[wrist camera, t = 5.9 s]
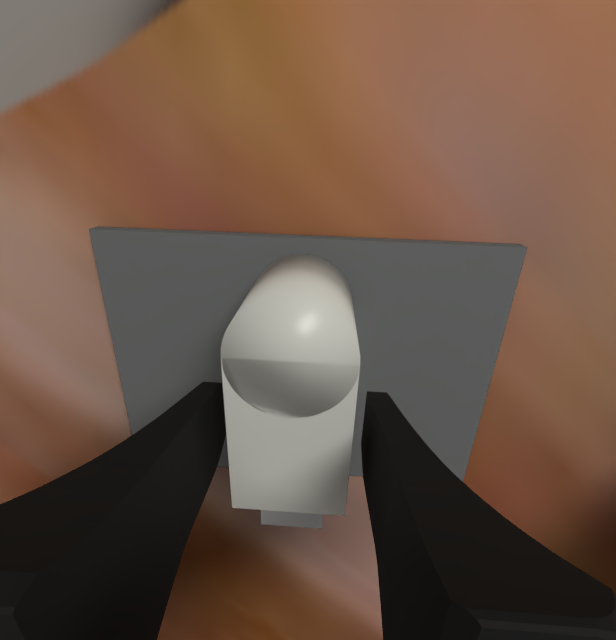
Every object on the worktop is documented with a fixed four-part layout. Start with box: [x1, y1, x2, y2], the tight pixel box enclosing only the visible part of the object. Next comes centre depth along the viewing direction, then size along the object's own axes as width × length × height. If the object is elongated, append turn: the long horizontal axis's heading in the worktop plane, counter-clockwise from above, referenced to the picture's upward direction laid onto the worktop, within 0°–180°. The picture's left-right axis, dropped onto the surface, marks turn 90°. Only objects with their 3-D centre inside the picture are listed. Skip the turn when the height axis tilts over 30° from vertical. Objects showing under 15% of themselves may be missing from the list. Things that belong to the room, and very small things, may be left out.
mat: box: [89, 227, 527, 482], centre depth 14 cm, size 14×10×1 cm
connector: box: [221, 254, 360, 529], centre depth 12 cm, size 9×3×4 cm, turn 178°
